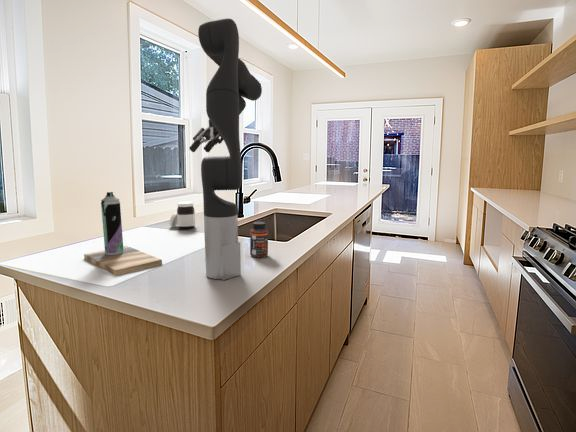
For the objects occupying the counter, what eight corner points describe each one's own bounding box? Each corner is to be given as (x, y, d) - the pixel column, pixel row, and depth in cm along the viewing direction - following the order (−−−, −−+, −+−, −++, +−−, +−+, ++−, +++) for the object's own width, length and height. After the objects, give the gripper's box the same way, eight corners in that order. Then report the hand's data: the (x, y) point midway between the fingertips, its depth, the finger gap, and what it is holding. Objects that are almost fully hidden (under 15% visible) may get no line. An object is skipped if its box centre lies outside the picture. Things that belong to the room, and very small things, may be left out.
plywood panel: (162, 264, 114) (161, 259, 114) (116, 275, 104) (115, 269, 104) (127, 250, 130) (126, 245, 130) (84, 258, 120) (84, 253, 120)
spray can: (116, 255, 118) (111, 193, 114) (101, 254, 119) (96, 192, 115) (127, 251, 123) (122, 191, 120) (112, 250, 124) (107, 190, 121)
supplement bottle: (255, 259, 120) (255, 225, 118) (247, 255, 125) (246, 222, 123) (271, 256, 123) (271, 223, 121) (262, 252, 128) (262, 220, 126)
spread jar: (195, 230, 163) (194, 204, 161) (168, 231, 161) (166, 204, 159) (195, 224, 175) (194, 200, 173) (170, 226, 172) (169, 201, 170)
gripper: (206, 111, 136) (179, 142, 130) (230, 108, 127) (203, 142, 120) (218, 127, 141) (193, 157, 134) (242, 125, 131) (217, 158, 125)
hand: (198, 150), depth 127 cm, fingers open, 8 cm apart
